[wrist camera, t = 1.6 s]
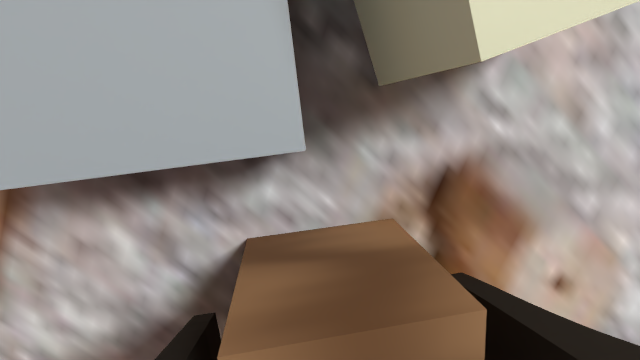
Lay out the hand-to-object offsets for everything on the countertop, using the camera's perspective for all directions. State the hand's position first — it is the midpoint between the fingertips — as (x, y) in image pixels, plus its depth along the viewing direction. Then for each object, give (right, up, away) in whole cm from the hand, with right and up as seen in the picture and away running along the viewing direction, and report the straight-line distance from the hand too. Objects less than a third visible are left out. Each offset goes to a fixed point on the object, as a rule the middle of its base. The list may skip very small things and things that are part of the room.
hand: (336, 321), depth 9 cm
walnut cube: (0, 0, +2) cm, 2 cm away
